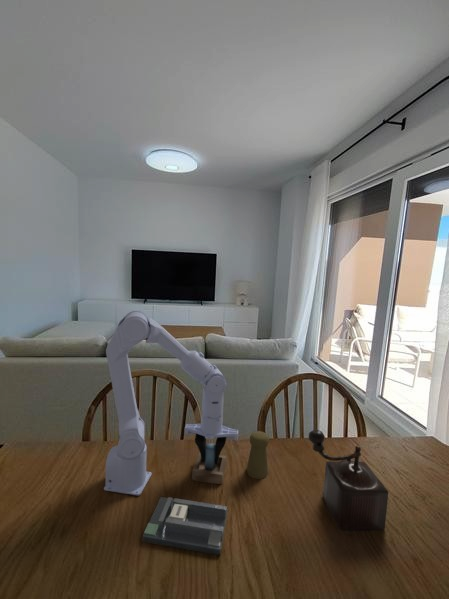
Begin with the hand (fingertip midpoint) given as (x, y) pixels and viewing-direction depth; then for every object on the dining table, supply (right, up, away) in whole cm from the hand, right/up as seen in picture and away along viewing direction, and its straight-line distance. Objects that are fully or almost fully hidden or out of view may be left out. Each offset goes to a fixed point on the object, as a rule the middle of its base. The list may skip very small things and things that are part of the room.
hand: (210, 460), depth 81 cm
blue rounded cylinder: (0, -2, 0) cm, 2 cm away
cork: (+13, -4, +2) cm, 14 cm away
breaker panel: (-4, -5, -17) cm, 18 cm away
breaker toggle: (-6, -3, -17) cm, 18 cm away
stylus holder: (0, -3, 0) cm, 3 cm away
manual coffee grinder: (+31, -6, -11) cm, 34 cm away
